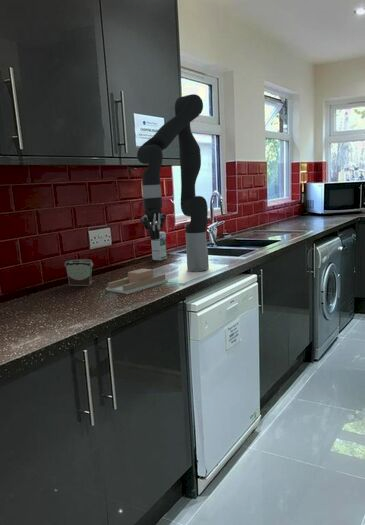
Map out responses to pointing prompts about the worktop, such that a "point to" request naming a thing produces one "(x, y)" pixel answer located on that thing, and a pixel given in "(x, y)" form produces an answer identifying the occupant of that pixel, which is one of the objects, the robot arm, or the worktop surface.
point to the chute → (135, 284)
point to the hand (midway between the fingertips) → (155, 239)
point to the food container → (79, 272)
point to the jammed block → (139, 275)
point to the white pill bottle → (159, 247)
